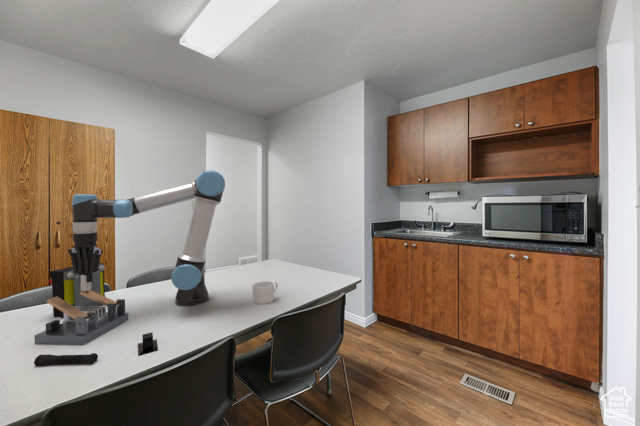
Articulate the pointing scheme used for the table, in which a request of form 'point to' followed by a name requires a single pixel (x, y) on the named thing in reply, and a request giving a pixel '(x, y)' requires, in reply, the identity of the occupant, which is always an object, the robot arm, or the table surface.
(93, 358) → the long black strip
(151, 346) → the black flanged mount
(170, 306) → the table surface
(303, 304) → the table surface
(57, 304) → the lever
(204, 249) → the robot arm
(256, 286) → the mug
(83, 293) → the lever
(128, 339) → the table surface
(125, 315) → the heatsink base
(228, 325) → the table surface
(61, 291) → the electrical component
